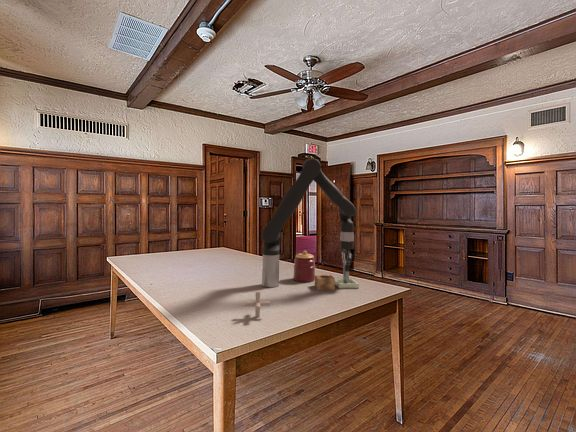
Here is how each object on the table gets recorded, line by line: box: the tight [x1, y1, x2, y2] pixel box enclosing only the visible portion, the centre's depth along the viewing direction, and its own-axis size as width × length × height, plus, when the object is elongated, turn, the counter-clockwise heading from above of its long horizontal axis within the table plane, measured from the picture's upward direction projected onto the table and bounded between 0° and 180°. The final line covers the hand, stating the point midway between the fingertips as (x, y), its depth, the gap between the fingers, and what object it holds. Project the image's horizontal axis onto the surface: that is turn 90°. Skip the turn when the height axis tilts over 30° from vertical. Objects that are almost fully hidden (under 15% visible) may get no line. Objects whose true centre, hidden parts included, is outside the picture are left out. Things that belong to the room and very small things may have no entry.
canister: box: [293, 250, 316, 283], centre depth 182 cm, size 13×13×18 cm
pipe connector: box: [244, 290, 272, 318], centre depth 120 cm, size 10×10×10 cm
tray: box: [335, 278, 360, 290], centre depth 170 cm, size 11×11×2 cm
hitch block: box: [314, 274, 336, 291], centre depth 165 cm, size 9×9×6 cm
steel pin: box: [342, 258, 350, 284], centre depth 170 cm, size 3×3×15 cm
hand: (346, 270), depth 170 cm, fingers closed on steel pin, 3 cm apart
